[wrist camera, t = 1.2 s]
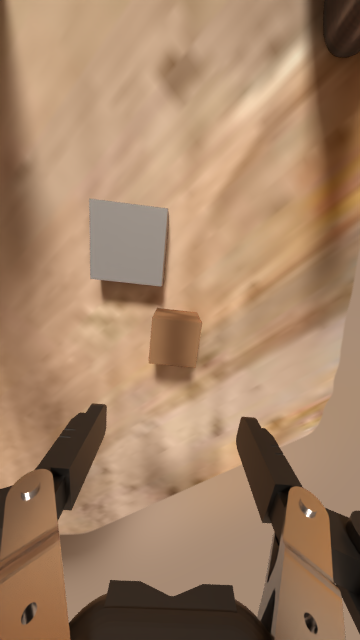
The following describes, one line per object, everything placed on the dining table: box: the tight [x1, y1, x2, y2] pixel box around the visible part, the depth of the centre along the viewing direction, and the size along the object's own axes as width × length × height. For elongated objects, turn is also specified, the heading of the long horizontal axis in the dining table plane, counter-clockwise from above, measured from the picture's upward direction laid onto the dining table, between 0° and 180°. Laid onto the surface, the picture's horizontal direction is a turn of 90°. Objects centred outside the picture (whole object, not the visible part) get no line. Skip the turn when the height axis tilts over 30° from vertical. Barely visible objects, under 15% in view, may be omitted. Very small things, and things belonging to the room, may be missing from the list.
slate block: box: [89, 199, 169, 286], centre depth 24 cm, size 9×9×4 cm
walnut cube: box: [149, 308, 202, 368], centre depth 25 cm, size 6×6×6 cm
